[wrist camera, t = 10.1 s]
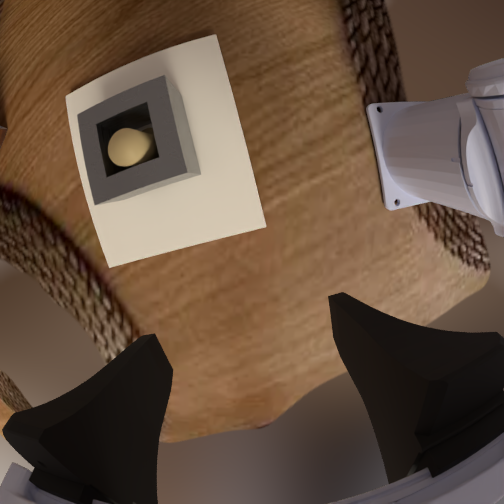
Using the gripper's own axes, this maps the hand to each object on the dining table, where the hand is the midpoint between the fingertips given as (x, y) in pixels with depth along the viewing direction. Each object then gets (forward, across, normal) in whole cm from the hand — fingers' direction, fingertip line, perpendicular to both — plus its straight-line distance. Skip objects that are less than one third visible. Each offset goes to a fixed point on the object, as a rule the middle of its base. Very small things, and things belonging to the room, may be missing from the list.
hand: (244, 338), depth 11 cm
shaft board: (+10, +4, -9) cm, 14 cm away
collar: (+9, +4, -9) cm, 13 cm away
